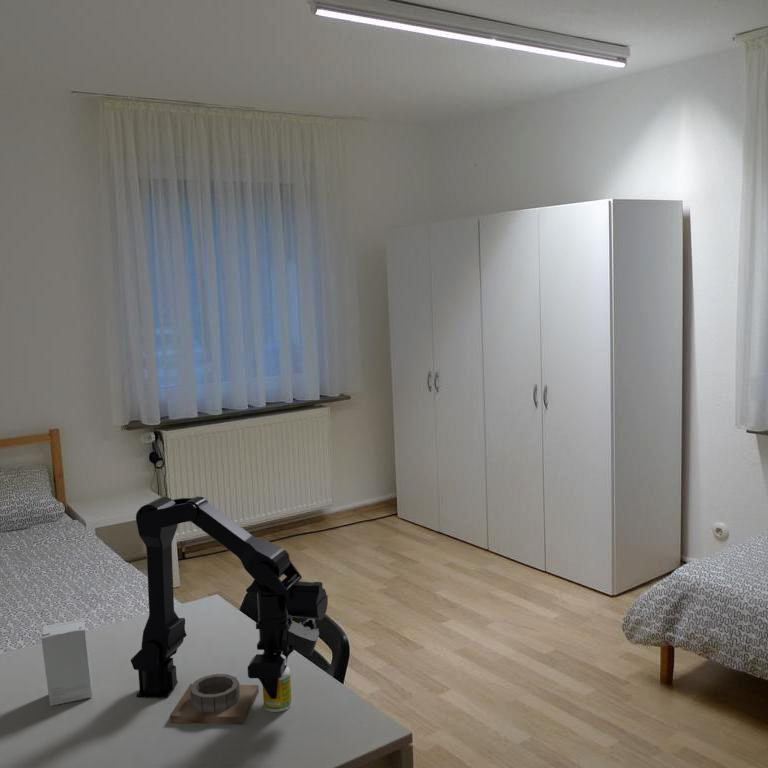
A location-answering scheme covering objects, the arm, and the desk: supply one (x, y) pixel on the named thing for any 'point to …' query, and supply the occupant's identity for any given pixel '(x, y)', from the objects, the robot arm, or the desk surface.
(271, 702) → the supplement bottle
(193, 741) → the desk surface
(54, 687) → the skincare box
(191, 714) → the collar board
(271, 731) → the desk surface
